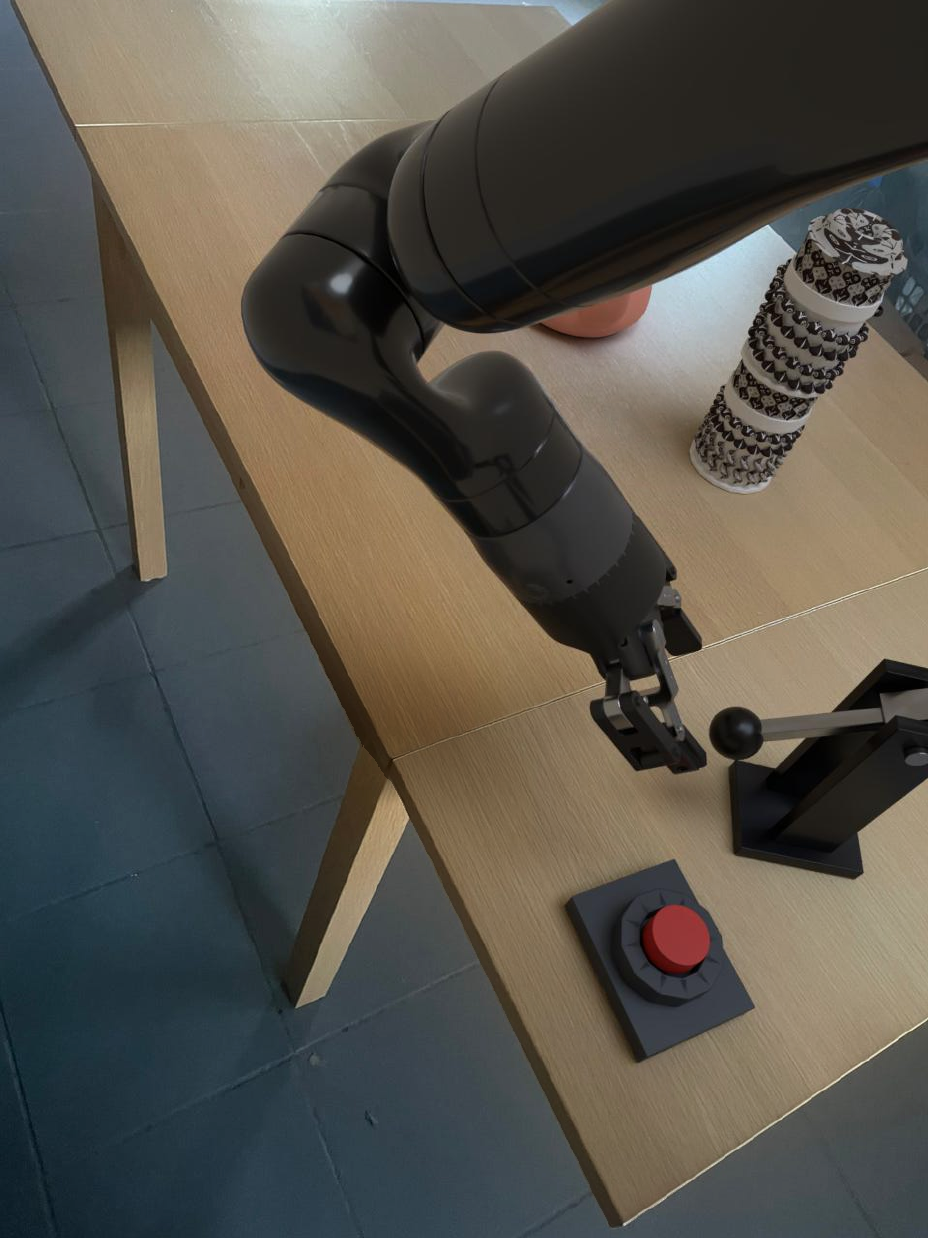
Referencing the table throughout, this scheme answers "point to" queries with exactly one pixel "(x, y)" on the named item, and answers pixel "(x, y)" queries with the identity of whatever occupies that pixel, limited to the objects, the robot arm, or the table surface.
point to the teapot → (603, 316)
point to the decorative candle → (797, 347)
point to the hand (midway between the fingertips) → (689, 704)
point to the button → (676, 939)
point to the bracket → (832, 784)
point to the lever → (808, 723)
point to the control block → (634, 986)
